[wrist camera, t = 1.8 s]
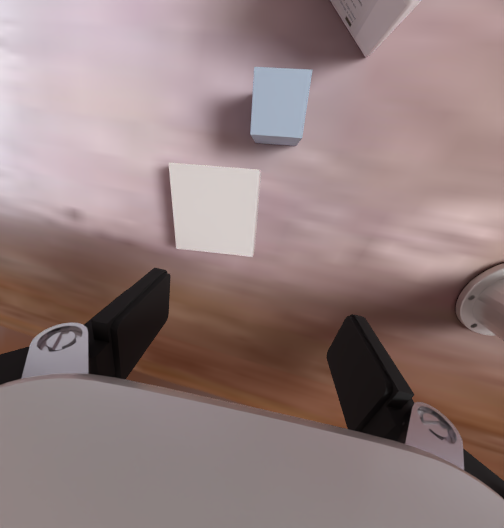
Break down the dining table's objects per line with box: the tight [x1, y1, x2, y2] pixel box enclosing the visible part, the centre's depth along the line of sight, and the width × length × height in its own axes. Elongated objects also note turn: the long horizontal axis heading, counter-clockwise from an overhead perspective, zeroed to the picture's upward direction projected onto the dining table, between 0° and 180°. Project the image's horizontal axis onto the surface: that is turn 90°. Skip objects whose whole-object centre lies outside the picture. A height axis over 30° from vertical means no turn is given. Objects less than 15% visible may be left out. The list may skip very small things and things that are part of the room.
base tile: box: [169, 163, 261, 257], centre depth 27 cm, size 11×11×3 cm
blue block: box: [250, 67, 312, 146], centre depth 21 cm, size 5×5×6 cm
